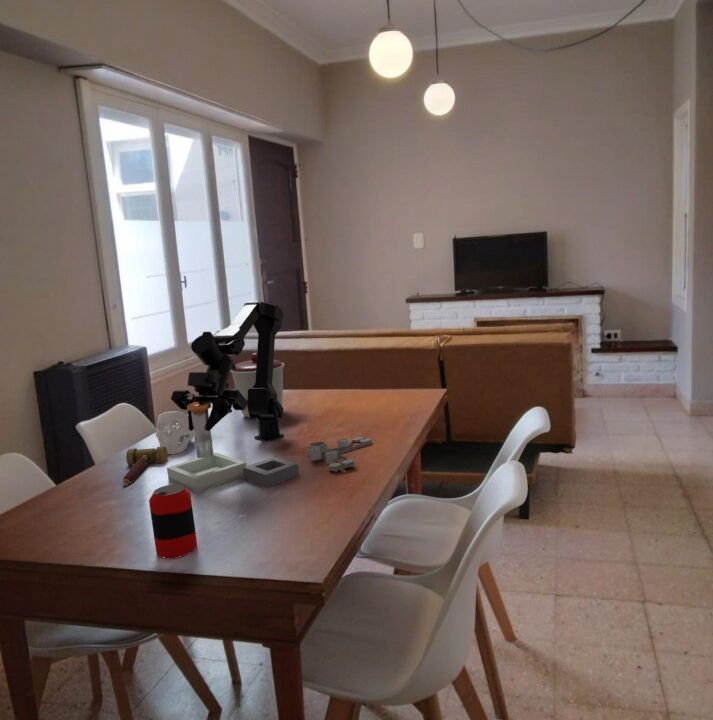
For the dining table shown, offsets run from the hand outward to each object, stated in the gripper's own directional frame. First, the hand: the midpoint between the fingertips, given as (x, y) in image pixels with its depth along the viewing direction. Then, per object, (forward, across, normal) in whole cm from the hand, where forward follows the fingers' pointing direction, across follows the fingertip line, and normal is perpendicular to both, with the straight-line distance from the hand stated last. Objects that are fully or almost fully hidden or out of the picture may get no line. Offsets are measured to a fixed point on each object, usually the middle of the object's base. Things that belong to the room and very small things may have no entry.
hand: (198, 430), depth 165 cm
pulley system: (-6, +26, +25) cm, 37 cm away
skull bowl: (-8, -25, +27) cm, 37 cm away
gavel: (+7, -22, +12) cm, 26 cm away
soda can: (+34, +16, -16) cm, 41 cm away
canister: (-33, -15, +52) cm, 63 cm away
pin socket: (+6, +16, +12) cm, 21 cm away
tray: (+8, 0, +10) cm, 13 cm away
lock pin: (+4, 0, +6) cm, 7 cm away
